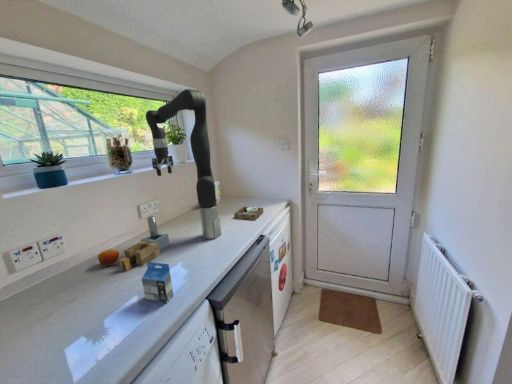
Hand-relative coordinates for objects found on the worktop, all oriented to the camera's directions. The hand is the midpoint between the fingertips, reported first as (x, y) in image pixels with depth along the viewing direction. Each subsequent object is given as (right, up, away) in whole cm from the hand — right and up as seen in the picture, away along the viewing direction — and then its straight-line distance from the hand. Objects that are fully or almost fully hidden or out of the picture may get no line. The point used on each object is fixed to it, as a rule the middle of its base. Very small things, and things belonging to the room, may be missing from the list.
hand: (165, 174), depth 136 cm
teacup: (+52, -26, +20) cm, 62 cm away
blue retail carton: (+21, -47, -57) cm, 77 cm away
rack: (+3, -39, -19) cm, 43 cm away
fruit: (-12, -43, -32) cm, 55 cm away
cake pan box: (+21, -21, +49) cm, 57 cm away
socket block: (+2, -41, -30) cm, 51 cm away
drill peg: (+3, -38, -19) cm, 42 cm away
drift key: (0, -43, -35) cm, 55 cm away
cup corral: (+50, -26, +19) cm, 59 cm away
